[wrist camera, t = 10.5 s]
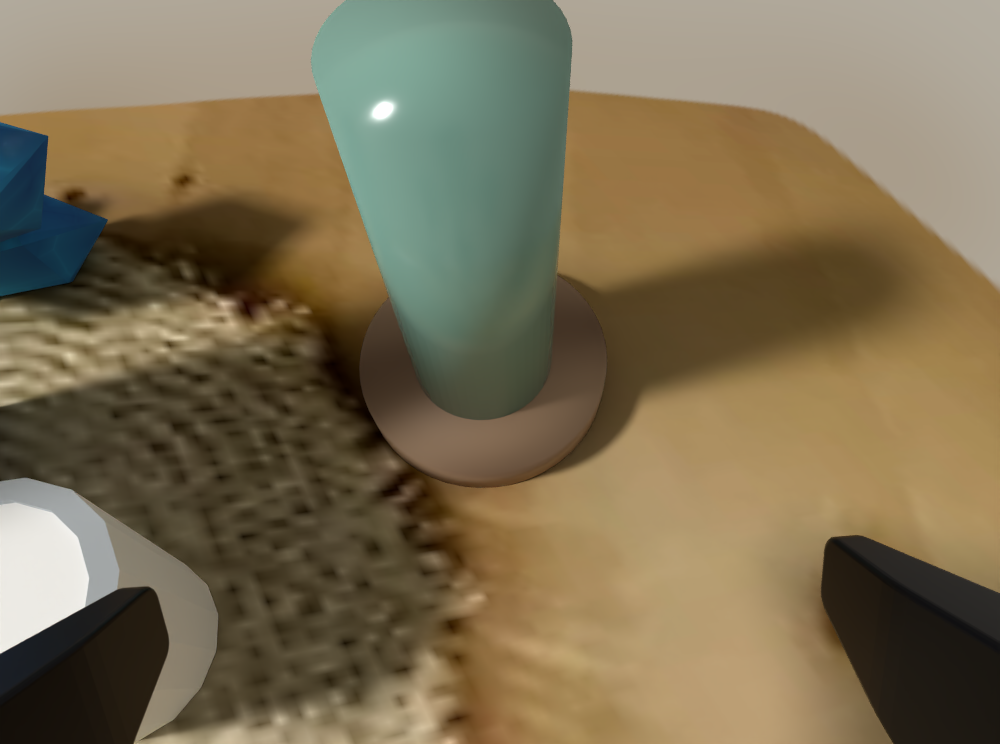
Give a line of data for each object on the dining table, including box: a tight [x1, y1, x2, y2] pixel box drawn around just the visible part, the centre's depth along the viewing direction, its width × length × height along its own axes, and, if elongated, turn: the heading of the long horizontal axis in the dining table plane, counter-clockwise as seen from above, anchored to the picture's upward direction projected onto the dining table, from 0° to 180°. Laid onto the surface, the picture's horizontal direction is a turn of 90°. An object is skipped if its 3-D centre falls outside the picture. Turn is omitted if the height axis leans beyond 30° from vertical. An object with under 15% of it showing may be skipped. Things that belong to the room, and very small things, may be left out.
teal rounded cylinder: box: [311, 0, 572, 420], centre depth 18 cm, size 5×5×12 cm
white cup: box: [0, 478, 218, 742], centre depth 18 cm, size 7×7×7 cm
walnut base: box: [359, 275, 607, 488], centre depth 24 cm, size 9×9×2 cm
